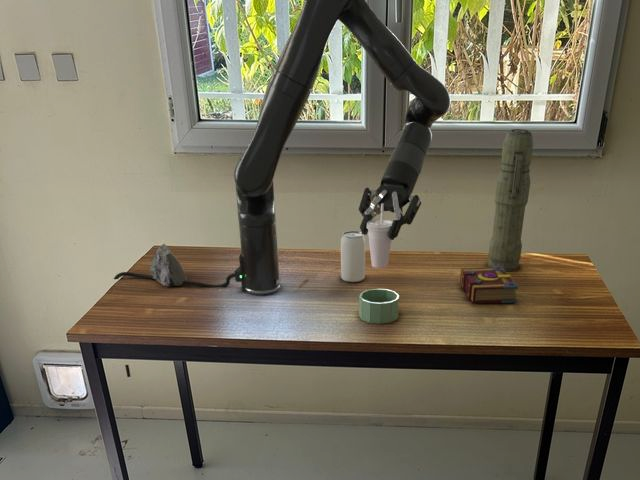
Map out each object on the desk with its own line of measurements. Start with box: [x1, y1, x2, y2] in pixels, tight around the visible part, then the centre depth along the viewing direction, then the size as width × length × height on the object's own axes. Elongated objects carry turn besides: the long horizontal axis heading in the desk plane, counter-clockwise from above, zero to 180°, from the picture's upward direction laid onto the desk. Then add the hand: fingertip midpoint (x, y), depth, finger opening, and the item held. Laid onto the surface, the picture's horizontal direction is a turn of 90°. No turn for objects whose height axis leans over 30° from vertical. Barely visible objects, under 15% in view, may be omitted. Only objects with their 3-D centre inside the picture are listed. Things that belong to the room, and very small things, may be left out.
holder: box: [358, 288, 400, 325], centre depth 167 cm, size 9×9×5 cm
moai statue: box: [487, 128, 534, 272], centre depth 188 cm, size 9×12×35 cm
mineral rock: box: [149, 243, 188, 288], centre depth 186 cm, size 13×11×10 cm
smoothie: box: [367, 203, 394, 269], centre depth 157 cm, size 6×6×14 cm
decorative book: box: [459, 266, 519, 304], centre depth 179 cm, size 11×16×5 cm
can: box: [340, 230, 366, 283], centre depth 186 cm, size 6×6×12 cm
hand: (376, 235), depth 156 cm, fingers closed on smoothie, 6 cm apart
